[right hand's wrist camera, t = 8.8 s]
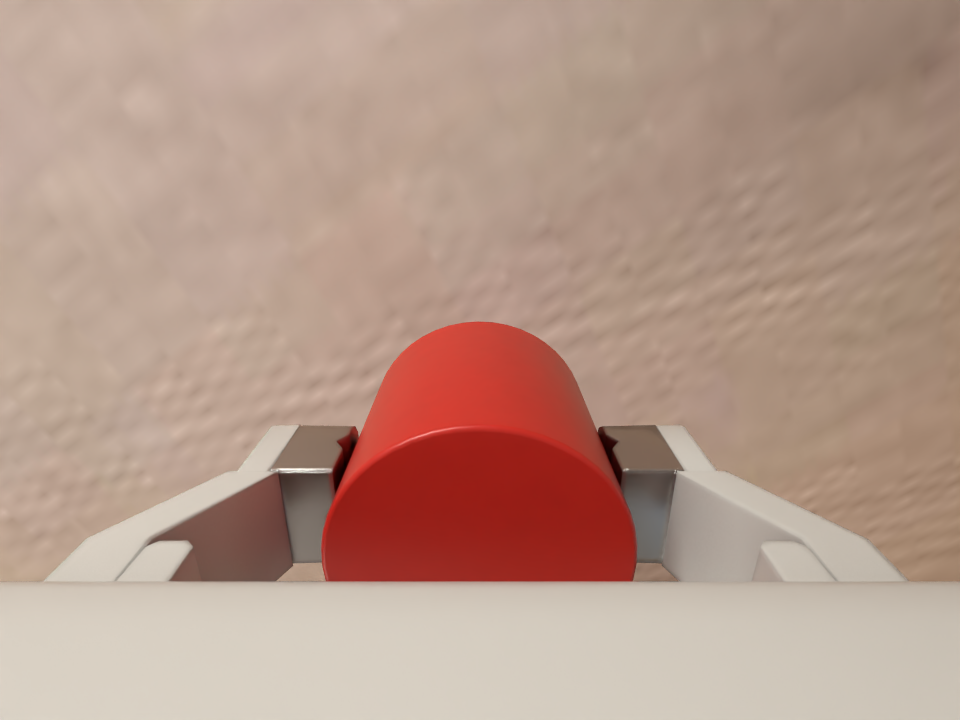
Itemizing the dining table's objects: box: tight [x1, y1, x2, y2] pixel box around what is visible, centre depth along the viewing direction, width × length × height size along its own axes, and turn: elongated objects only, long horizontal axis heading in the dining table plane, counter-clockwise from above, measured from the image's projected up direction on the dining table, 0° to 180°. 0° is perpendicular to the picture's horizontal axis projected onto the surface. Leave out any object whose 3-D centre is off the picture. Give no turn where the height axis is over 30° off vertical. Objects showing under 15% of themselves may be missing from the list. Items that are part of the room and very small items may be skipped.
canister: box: [321, 322, 637, 581], centre depth 10 cm, size 4×4×4 cm
